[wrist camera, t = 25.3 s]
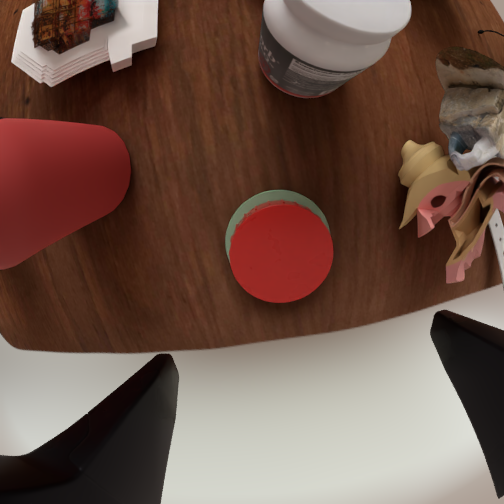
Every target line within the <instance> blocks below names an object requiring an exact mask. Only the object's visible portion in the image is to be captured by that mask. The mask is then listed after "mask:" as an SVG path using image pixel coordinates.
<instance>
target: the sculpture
mask: <svg viewBox="0 0 504 504" xmlns="http://www.w3.org/2000/svg"><path fill="white" fill-rule="evenodd" d="M436 70H437V74H438V77H439V80H440V82H441V85H442V87H443V89H444V90H445V94H444V97H443V99H442V103H441V110H440V114H439V118H440V119H439V122H440V124H439V126H440V129H441V130H442V132H443V133H445V134H446V135H447V138H448V139H449V147H448V149H449V155H450V158H451V160H452V162H453V163H454V165H455V167H456V168H457V169H458V170H460V171H462V170H466V171H468V170H469V169H471V168H473V167H475V166H479V165H482V164H484V163H485V162H487V161H488V160H490V159H491V158H493V157H494V156H497V157H499V158H501V159H504V67H503V66H501V65H500V64H498V63H497V62H495V61H494V60H493V59H491V58H489V57H487V56H485V55H482V54H480V53H478V52H476V51H473V50H470V49H466V48H463V47H449V48H446V49H444V50H442V51H441V52H440V53H439V54H438V55H437V59H436ZM465 149H467V150H472V151H471V152H470V153H466V154H463V152H464V151H465Z"/></svg>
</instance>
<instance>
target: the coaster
mask: <svg viewBox="0 0 504 504" xmlns="http://www.w3.org/2000/svg"><path fill="white" fill-rule="evenodd" d="M281 199H283V200H285V201H292V202H294V201H296V202H297V203H298V204H301V205H303V206H305V207H306V206H307V207H308V208H310V209H311V211H312V212H313V213H314V214H315V215H316V214H317V215H318V216H319V217H320V218H321V221H322V222H323V223H324V224H325V226H326V227H327V228H328V231H329V233H330V229H329V225H328V222H327V220H326V218H325V216H324V214H323V213H322V211H321V210H320V209H319V207H318V206H317V205H316V204H315V203H314V202H312V201H311V200H310V199H308V198H307V197H305V196H303V195H301V194H299V193H296V192H293V191H288V190H270V191H265V192H262V193H259V194H257V195H255V196H253V197H251V198H250V199H248V200H246V201H245V202H244V203H243V204H242V205H241V206H240V207H239V208H238V209H237V210H236V212H235V213H234V215H233V216H232V218H231V220H230V222H229V225H228V228H227V232H226V240H225V246H226V253H227V257H228V259H229V262H230V255H229V249H230V246H231V242H230V239H231V236H233V233H234V230H235V227H236V224H238V223H239V222H240V220H241V219H242V218H243V217H244V214H247V213H248V212H249V211H250V210H251V209H253V208H255V206H258V205H260V204H263V203H266V202H267V201H268V200H269V201H275V200H281Z"/></svg>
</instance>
